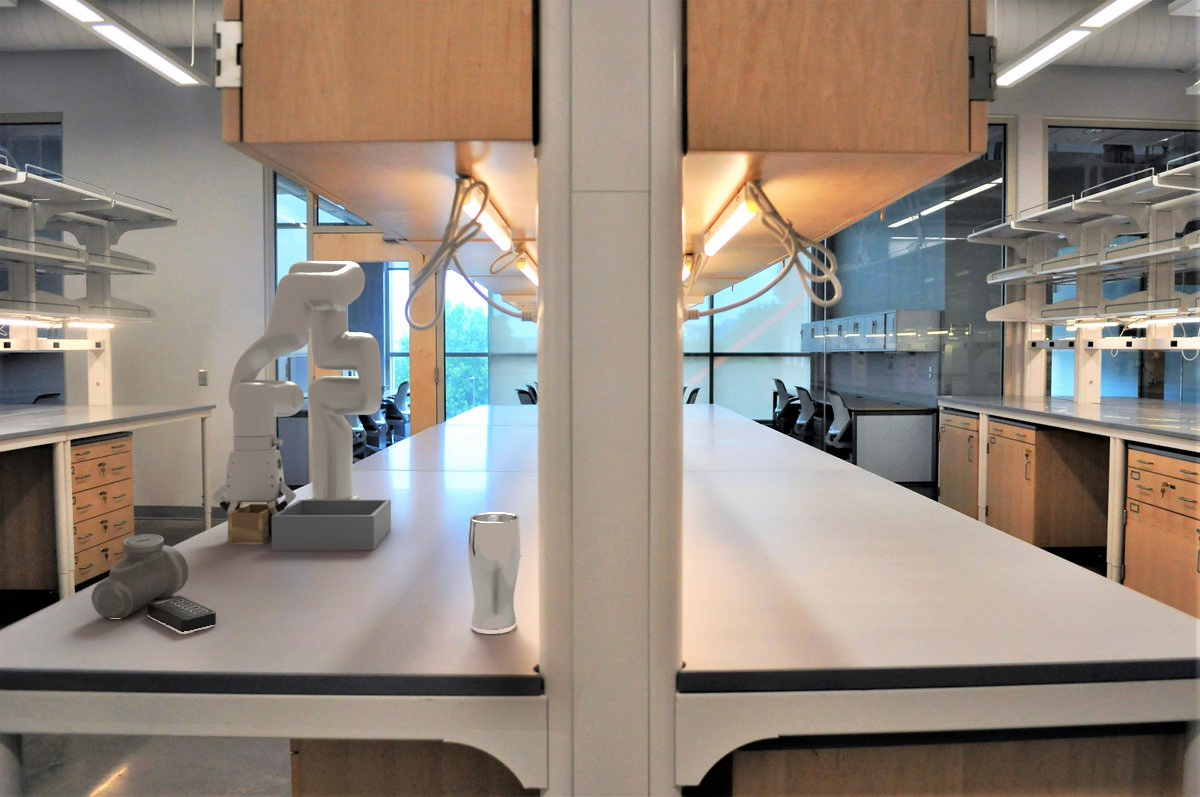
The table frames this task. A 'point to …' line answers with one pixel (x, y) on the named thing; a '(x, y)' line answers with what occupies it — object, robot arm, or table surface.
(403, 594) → the table surface
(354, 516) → the box
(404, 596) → the table surface
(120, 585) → the pipe fitting
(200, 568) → the table surface
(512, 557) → the beer glass
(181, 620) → the multiport hub
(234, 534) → the oak crate
